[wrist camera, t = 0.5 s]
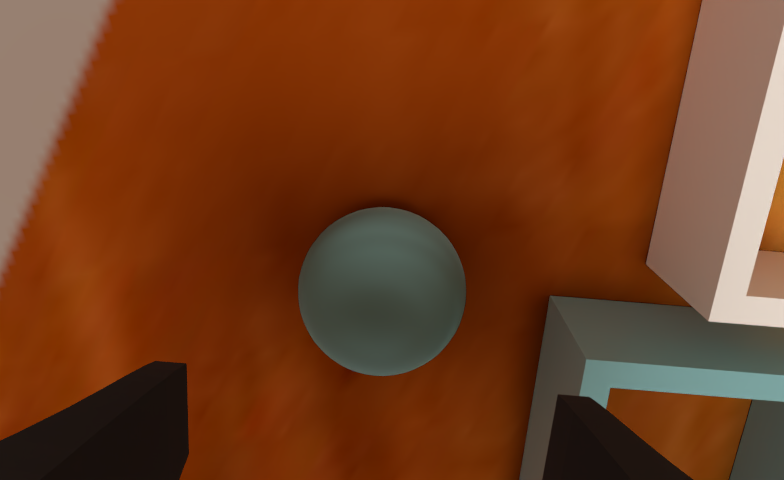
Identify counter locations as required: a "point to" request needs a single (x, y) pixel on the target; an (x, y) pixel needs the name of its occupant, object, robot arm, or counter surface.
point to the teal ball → (382, 291)
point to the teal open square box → (660, 370)
